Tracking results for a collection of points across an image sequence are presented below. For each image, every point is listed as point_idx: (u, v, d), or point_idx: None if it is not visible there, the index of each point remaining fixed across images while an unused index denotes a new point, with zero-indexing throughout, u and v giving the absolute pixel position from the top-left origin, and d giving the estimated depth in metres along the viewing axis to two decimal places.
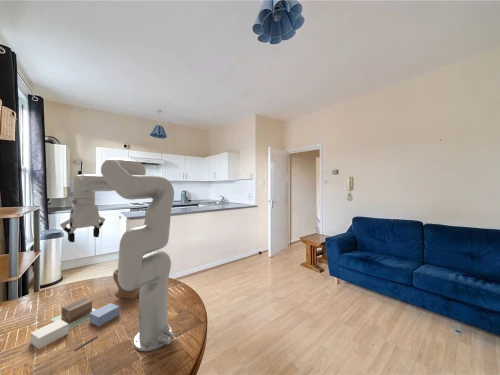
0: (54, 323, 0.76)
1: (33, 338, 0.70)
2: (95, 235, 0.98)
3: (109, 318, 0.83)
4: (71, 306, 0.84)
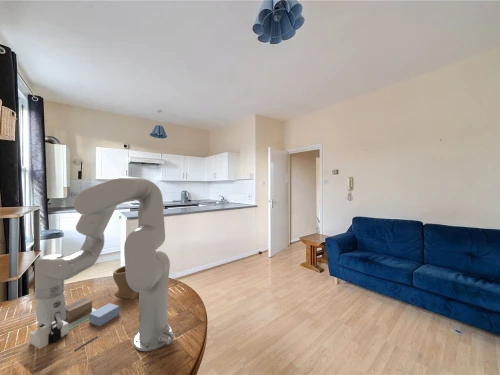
0: None
1: (33, 338, 0.70)
2: None
3: (109, 318, 0.83)
4: (71, 306, 0.84)
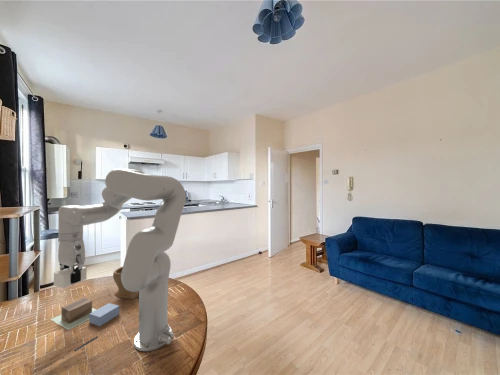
0: None
1: (57, 276, 0.79)
2: None
3: (110, 318, 0.83)
4: (71, 306, 0.84)
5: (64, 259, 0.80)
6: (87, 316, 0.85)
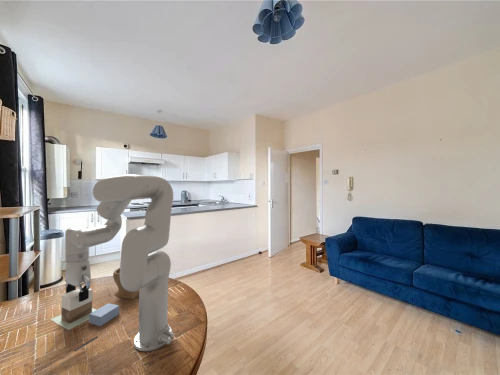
0: None
1: (64, 299, 0.82)
2: None
3: (110, 317, 0.84)
4: None
5: (71, 279, 0.83)
6: (87, 316, 0.85)
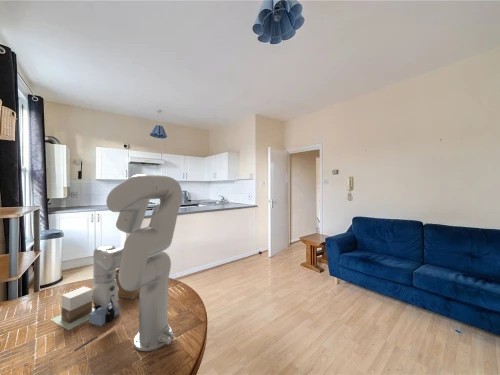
0: (80, 289, 0.88)
1: (64, 299, 0.82)
2: None
3: None
4: None
5: (99, 300, 0.82)
6: (87, 316, 0.85)
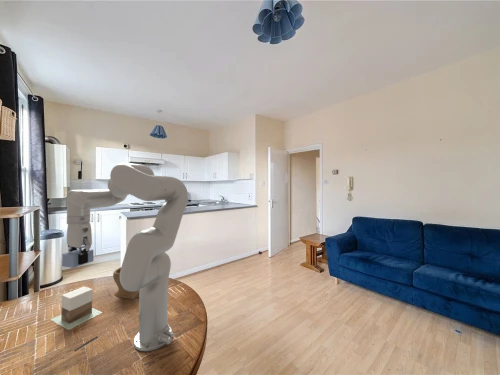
0: (80, 289, 0.88)
1: (64, 299, 0.82)
2: None
3: None
4: None
5: (72, 241, 0.83)
6: (87, 316, 0.85)
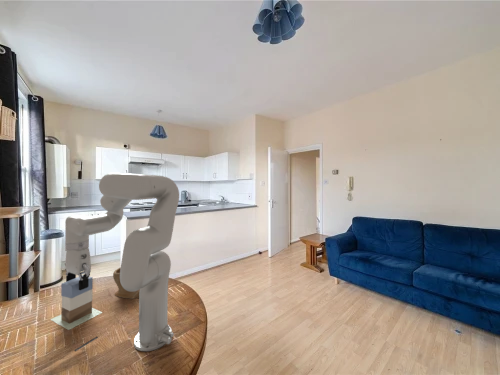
0: None
1: (64, 299, 0.82)
2: None
3: None
4: None
5: (71, 267, 0.83)
6: (87, 316, 0.85)
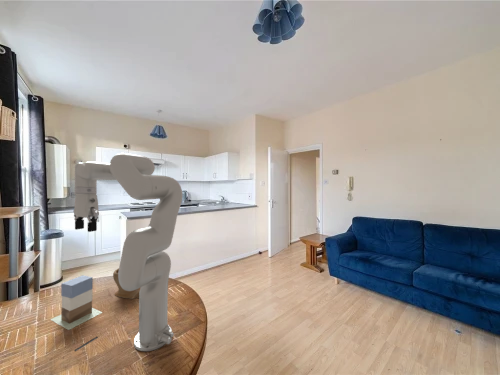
0: None
1: (64, 299, 0.82)
2: (80, 227, 0.92)
3: (82, 288, 0.85)
4: None
5: (80, 211, 0.87)
6: (87, 316, 0.85)
